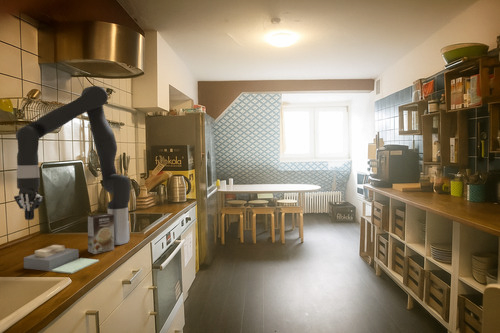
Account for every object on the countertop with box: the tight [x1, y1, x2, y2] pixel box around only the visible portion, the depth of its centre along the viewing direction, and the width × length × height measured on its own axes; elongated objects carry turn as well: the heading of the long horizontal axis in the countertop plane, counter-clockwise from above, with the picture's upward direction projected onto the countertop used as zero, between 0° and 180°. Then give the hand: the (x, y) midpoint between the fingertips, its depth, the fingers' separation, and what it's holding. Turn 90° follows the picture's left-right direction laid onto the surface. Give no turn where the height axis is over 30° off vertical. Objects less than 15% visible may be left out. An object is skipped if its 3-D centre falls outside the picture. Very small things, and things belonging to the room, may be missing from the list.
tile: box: [34, 244, 66, 257], centre depth 126 cm, size 9×5×2 cm, turn 165°
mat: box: [51, 257, 100, 274], centre depth 123 cm, size 14×9×1 cm, turn 165°
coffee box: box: [87, 213, 115, 255], centre depth 142 cm, size 9×6×16 cm
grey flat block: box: [23, 247, 80, 272], centre depth 125 cm, size 14×12×4 cm
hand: (29, 219), depth 128 cm, fingers closed
